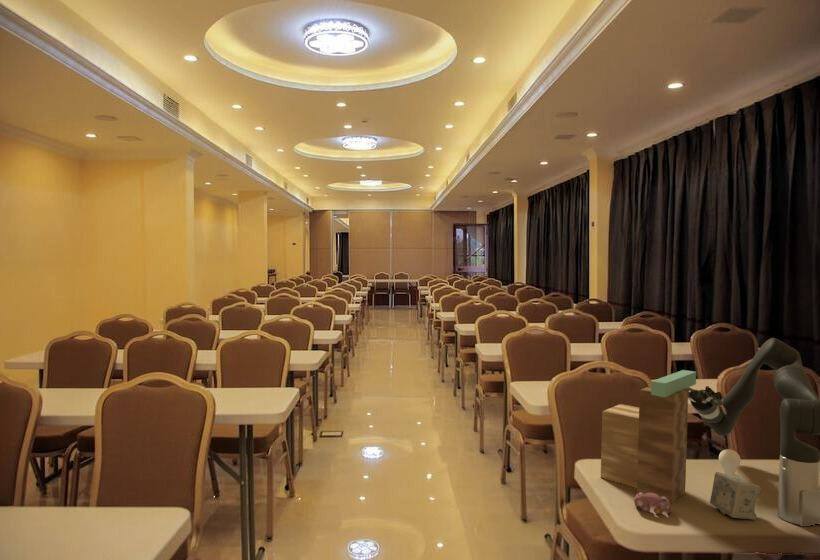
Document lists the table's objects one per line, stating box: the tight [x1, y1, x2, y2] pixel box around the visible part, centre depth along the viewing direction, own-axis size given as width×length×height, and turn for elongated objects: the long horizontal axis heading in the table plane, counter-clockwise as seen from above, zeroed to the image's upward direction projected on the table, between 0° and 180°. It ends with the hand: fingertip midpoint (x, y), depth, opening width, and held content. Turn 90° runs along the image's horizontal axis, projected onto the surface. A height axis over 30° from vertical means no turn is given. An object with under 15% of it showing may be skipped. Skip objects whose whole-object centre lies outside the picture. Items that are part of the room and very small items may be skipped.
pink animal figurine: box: [633, 492, 673, 515], centre depth 164 cm, size 10×5×7 cm, turn 62°
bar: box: [650, 369, 697, 397], centre depth 178 cm, size 26×4×4 cm, turn 136°
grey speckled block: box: [709, 471, 761, 521], centre depth 164 cm, size 10×8×10 cm
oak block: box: [600, 403, 639, 489], centre depth 191 cm, size 14×12×22 cm
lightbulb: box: [718, 448, 741, 474], centre depth 187 cm, size 6×6×11 cm
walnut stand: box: [636, 385, 689, 505], centre depth 177 cm, size 12×10×32 cm
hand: (692, 386), depth 189 cm, fingers open, 8 cm apart
